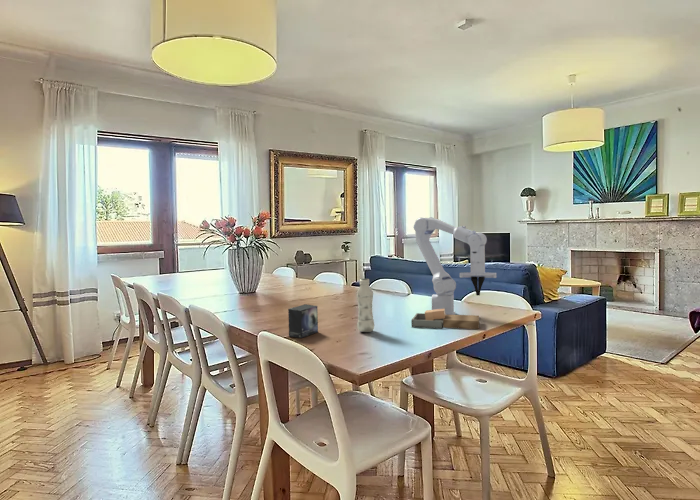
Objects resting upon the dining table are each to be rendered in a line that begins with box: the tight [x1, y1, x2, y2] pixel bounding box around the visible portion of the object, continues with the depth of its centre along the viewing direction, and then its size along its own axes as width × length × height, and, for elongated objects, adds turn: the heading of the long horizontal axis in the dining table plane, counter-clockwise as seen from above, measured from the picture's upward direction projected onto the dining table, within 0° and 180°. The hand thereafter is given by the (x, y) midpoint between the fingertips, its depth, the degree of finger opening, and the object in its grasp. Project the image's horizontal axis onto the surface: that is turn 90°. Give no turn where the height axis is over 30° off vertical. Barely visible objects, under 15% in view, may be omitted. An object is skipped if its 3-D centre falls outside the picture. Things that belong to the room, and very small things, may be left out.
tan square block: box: [424, 309, 435, 321], centre depth 174 cm, size 4×4×3 cm
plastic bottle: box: [356, 278, 375, 333], centre depth 164 cm, size 6×7×20 cm
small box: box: [287, 303, 319, 339], centre depth 164 cm, size 11×6×10 cm, turn 148°
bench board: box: [442, 314, 480, 330], centre depth 170 cm, size 13×10×3 cm
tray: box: [411, 312, 444, 329], centre depth 174 cm, size 12×13×3 cm
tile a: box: [432, 309, 446, 319], centre depth 173 cm, size 4×4×3 cm
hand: (478, 295), depth 180 cm, fingers closed
